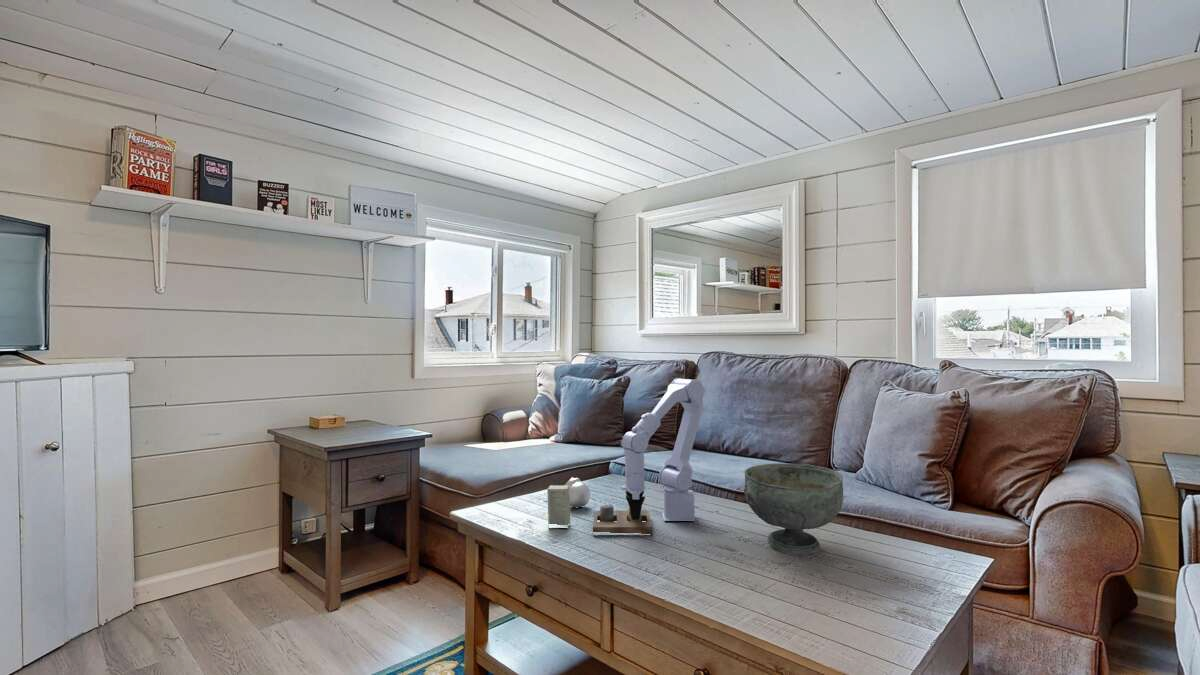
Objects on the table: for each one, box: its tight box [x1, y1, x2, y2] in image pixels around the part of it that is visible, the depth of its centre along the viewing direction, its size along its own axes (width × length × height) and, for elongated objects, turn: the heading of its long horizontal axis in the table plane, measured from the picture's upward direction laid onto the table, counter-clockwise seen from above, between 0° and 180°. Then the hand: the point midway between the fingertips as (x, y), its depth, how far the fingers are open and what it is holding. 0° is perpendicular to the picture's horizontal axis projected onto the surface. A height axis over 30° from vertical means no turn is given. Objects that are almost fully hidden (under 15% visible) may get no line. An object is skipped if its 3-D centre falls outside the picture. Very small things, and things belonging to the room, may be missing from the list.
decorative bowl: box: [743, 462, 844, 556], centre depth 154 cm, size 26×26×20 cm
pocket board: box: [592, 504, 653, 535], centre depth 172 cm, size 17×16×6 cm
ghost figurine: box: [564, 477, 591, 508], centre depth 192 cm, size 9×10×10 cm
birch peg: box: [627, 503, 643, 522], centre depth 172 cm, size 4×4×6 cm
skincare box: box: [546, 484, 571, 525], centre depth 173 cm, size 6×4×12 cm
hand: (635, 517), depth 172 cm, fingers closed on birch peg, 4 cm apart
